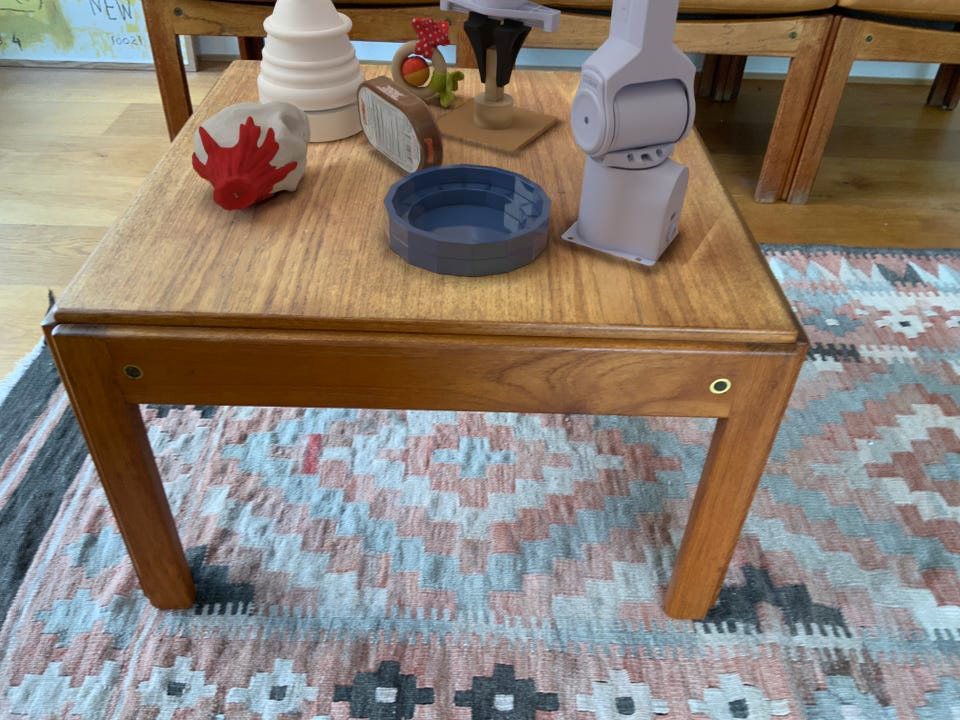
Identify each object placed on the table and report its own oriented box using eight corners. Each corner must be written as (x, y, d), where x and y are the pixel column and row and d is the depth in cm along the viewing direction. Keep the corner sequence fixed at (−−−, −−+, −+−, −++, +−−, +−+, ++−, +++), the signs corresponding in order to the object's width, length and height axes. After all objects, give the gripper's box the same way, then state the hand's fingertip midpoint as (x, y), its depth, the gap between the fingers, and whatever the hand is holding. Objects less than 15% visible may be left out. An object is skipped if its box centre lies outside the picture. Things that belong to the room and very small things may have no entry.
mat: (557, 122, 99) (557, 117, 99) (513, 155, 91) (513, 150, 91) (475, 101, 104) (475, 96, 103) (426, 131, 96) (426, 126, 95)
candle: (315, 158, 87) (303, 241, 77) (212, 156, 86) (185, 241, 76) (307, 81, 81) (292, 161, 71) (195, 79, 80) (163, 160, 70)
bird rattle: (408, 126, 102) (472, 102, 99) (369, 44, 95) (437, 15, 93) (412, 108, 107) (474, 84, 104) (376, 29, 100) (441, 1, 98)
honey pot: (370, 140, 93) (361, -24, 81) (259, 143, 91) (234, -24, 80) (366, 100, 103) (357, -52, 91) (265, 102, 101) (244, -53, 89)
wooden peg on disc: (519, 120, 98) (524, 46, 92) (500, 133, 94) (504, 57, 89) (485, 111, 100) (488, 38, 94) (466, 124, 96) (468, 49, 91)
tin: (445, 185, 85) (446, 109, 79) (420, 192, 83) (419, 115, 78) (378, 135, 94) (374, 64, 89) (354, 141, 93) (349, 69, 87)
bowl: (572, 226, 79) (577, 189, 76) (498, 300, 68) (500, 261, 66) (441, 186, 84) (441, 151, 82) (353, 249, 74) (350, 211, 71)
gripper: (577, -39, 85) (564, 85, 94) (463, -58, 91) (460, 61, 99) (548, -26, 81) (537, 103, 89) (430, -47, 86) (430, 77, 95)
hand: (495, 82), depth 94 cm, fingers closed on wooden peg on disc, 2 cm apart
